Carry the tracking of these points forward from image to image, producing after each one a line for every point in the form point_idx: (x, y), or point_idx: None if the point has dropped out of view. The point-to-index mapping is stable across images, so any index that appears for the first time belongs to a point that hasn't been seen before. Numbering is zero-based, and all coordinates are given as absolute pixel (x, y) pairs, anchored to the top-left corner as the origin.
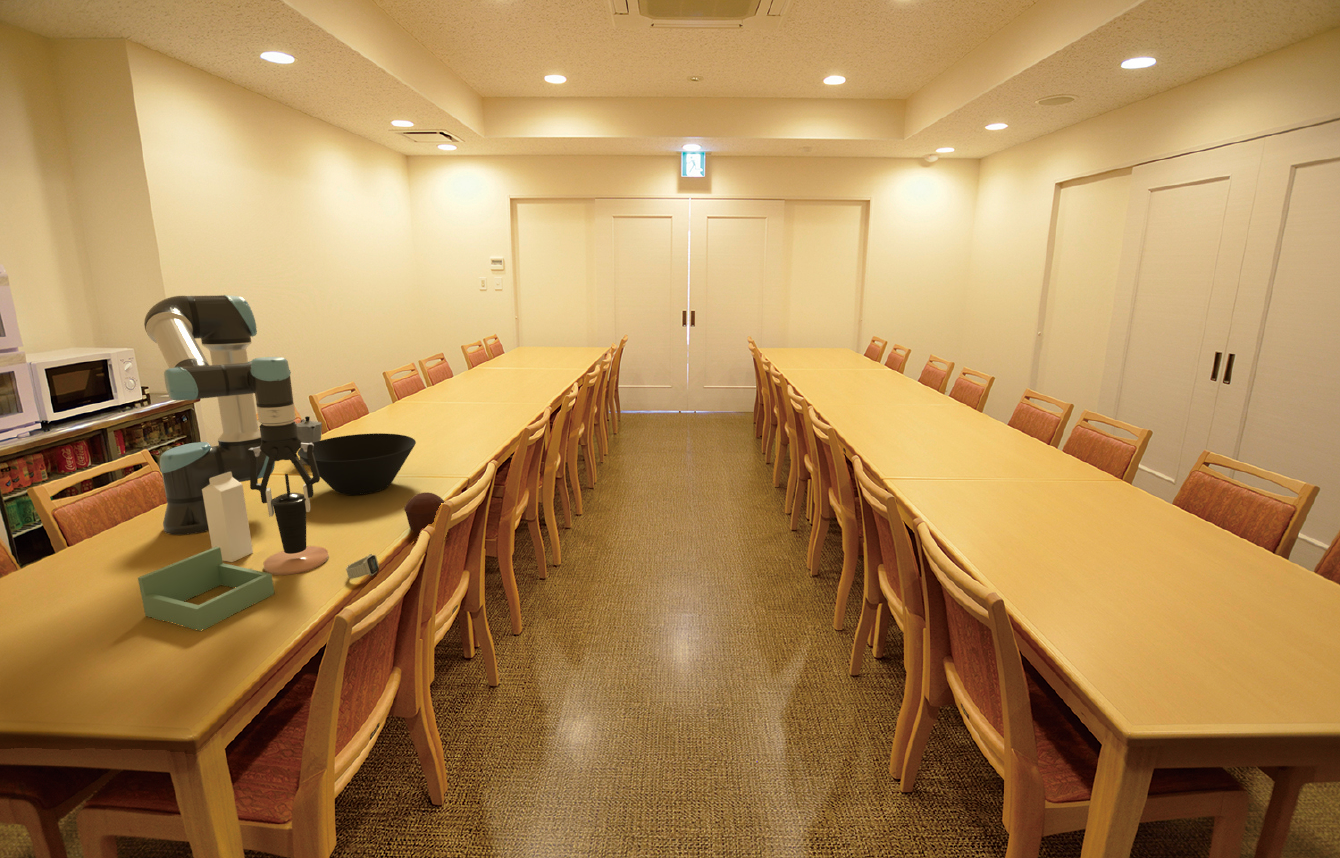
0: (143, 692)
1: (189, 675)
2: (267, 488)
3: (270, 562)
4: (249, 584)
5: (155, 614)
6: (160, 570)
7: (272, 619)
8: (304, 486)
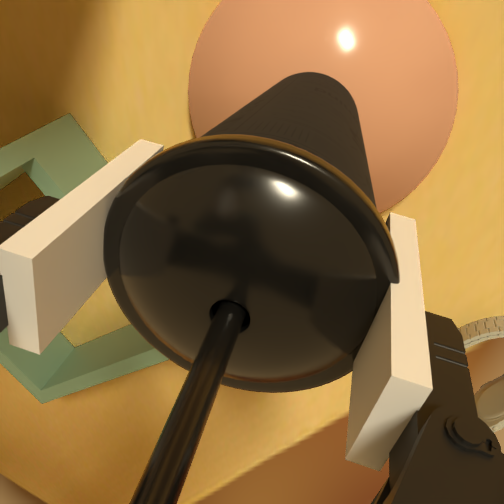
0: (39, 457)
1: (87, 463)
2: (5, 262)
3: (213, 88)
4: (137, 369)
5: None
6: None
7: None
8: (366, 451)
